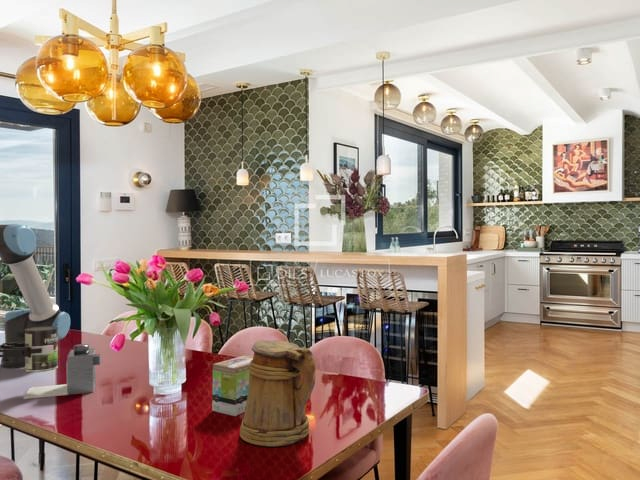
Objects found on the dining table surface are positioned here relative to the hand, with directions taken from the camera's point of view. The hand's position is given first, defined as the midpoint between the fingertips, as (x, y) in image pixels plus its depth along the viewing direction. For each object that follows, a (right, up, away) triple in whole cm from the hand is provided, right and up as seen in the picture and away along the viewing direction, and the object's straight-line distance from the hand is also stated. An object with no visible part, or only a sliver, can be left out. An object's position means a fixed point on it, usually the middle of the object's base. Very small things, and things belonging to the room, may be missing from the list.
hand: (55, 346), depth 187 cm
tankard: (+82, -16, -43) cm, 94 cm away
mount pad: (-2, -16, 0) cm, 16 cm away
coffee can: (-4, -8, -1) cm, 9 cm away
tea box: (+67, -16, -19) cm, 72 cm away
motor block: (+8, -16, +3) cm, 18 cm away
